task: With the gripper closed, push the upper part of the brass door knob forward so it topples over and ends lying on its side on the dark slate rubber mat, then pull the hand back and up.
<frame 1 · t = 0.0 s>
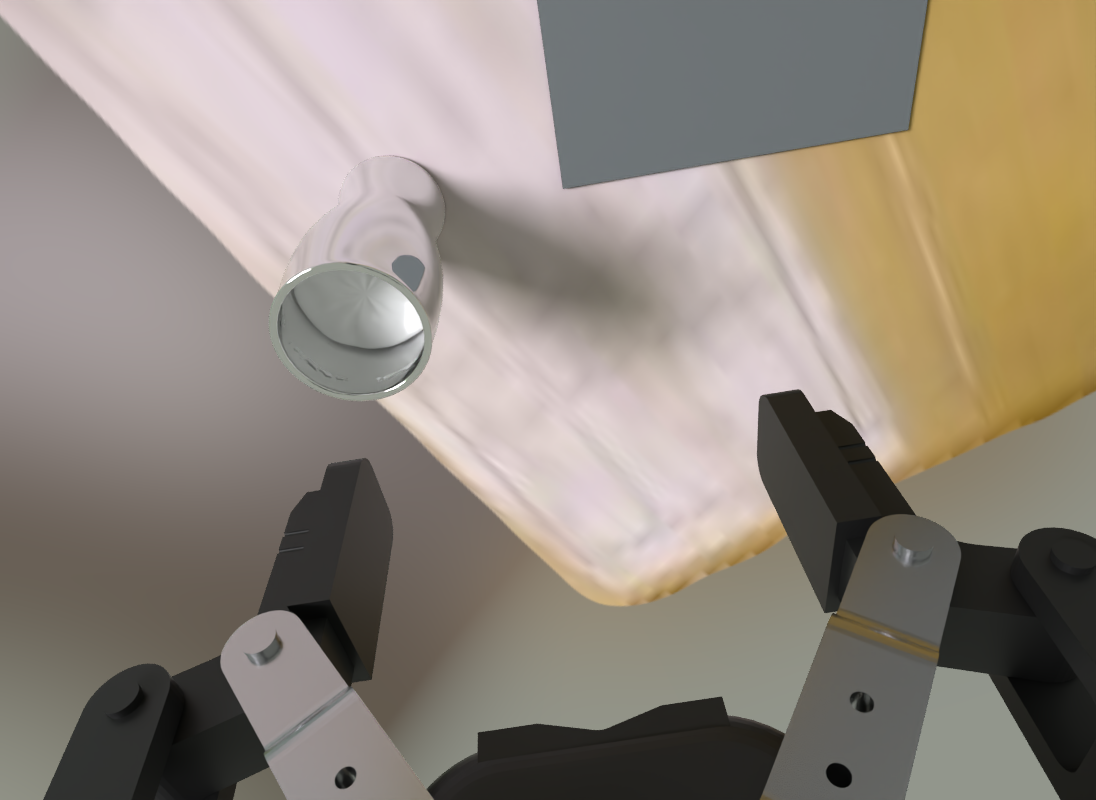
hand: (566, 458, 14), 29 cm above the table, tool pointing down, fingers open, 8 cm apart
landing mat: (733, 44, 37), on the table
beer glass: (393, 206, 41), on the table
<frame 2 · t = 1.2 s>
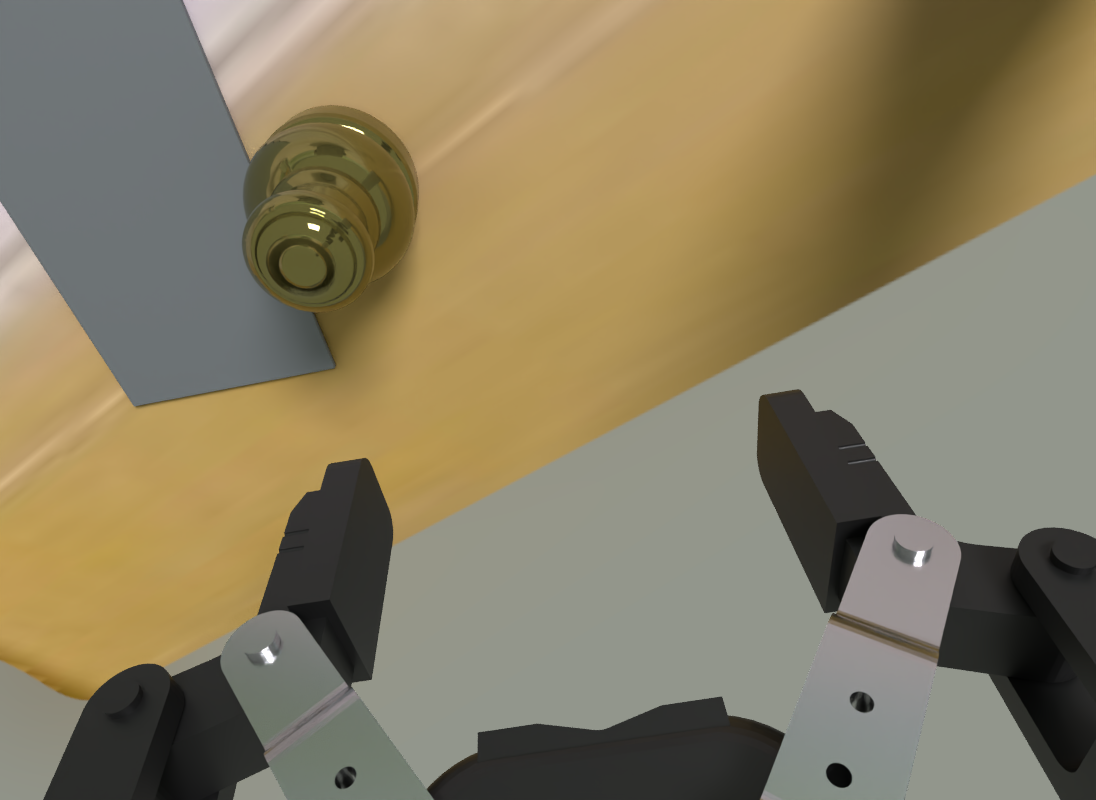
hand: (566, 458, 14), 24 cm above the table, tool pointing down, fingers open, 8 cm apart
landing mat: (148, 221, 35), on the table
brass door knob: (345, 181, 34), on the table
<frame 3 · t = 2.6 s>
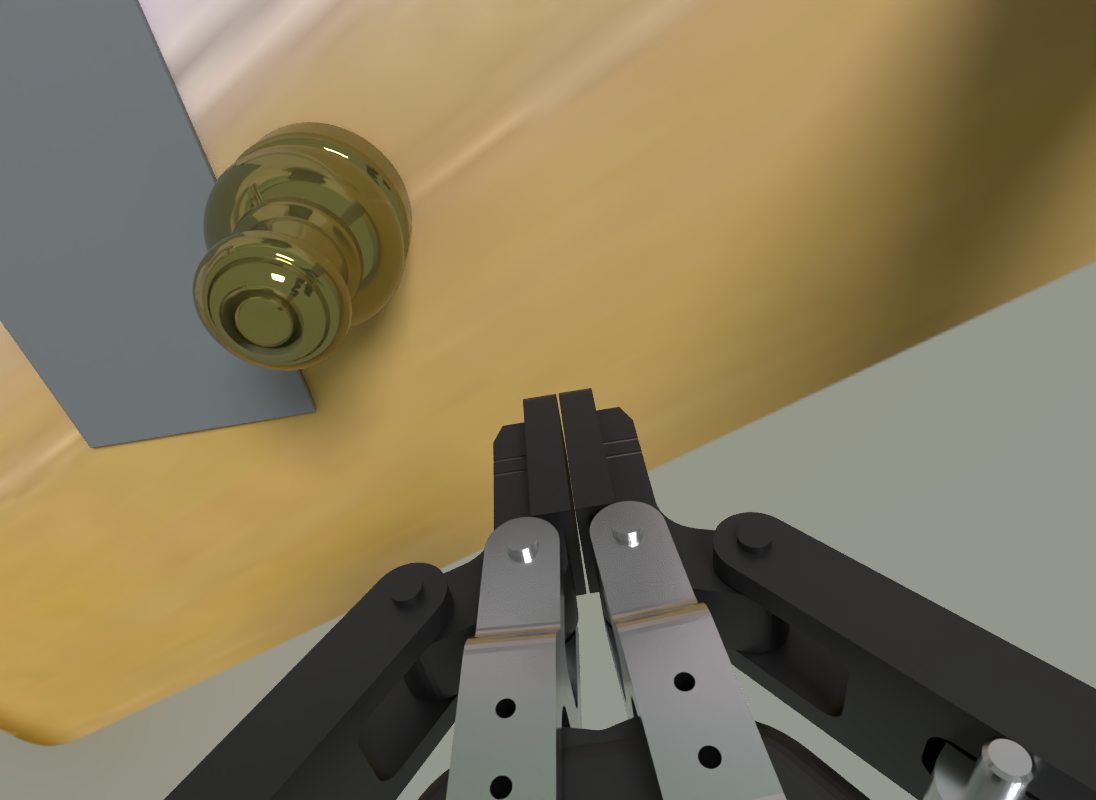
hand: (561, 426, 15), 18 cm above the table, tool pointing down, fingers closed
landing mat: (103, 248, 30), on the table
brass door knob: (327, 207, 30), on the table
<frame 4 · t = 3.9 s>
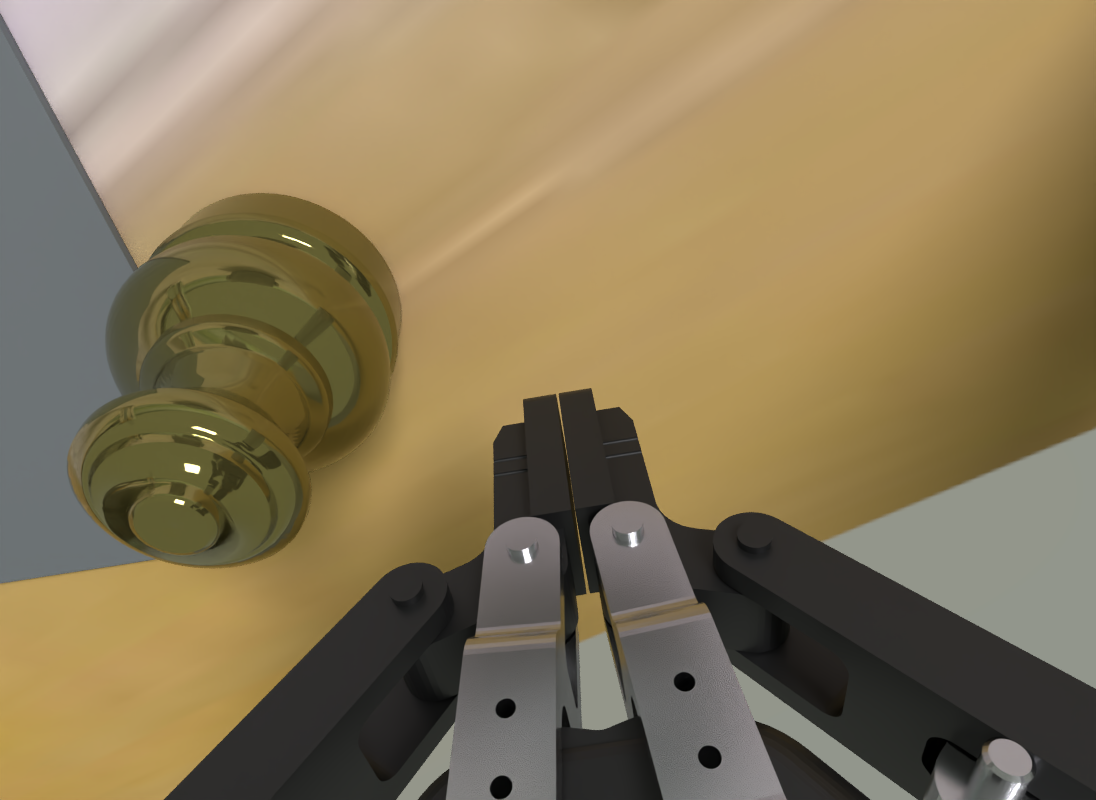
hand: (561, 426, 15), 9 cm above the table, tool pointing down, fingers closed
brass door knob: (289, 298, 23), on the table
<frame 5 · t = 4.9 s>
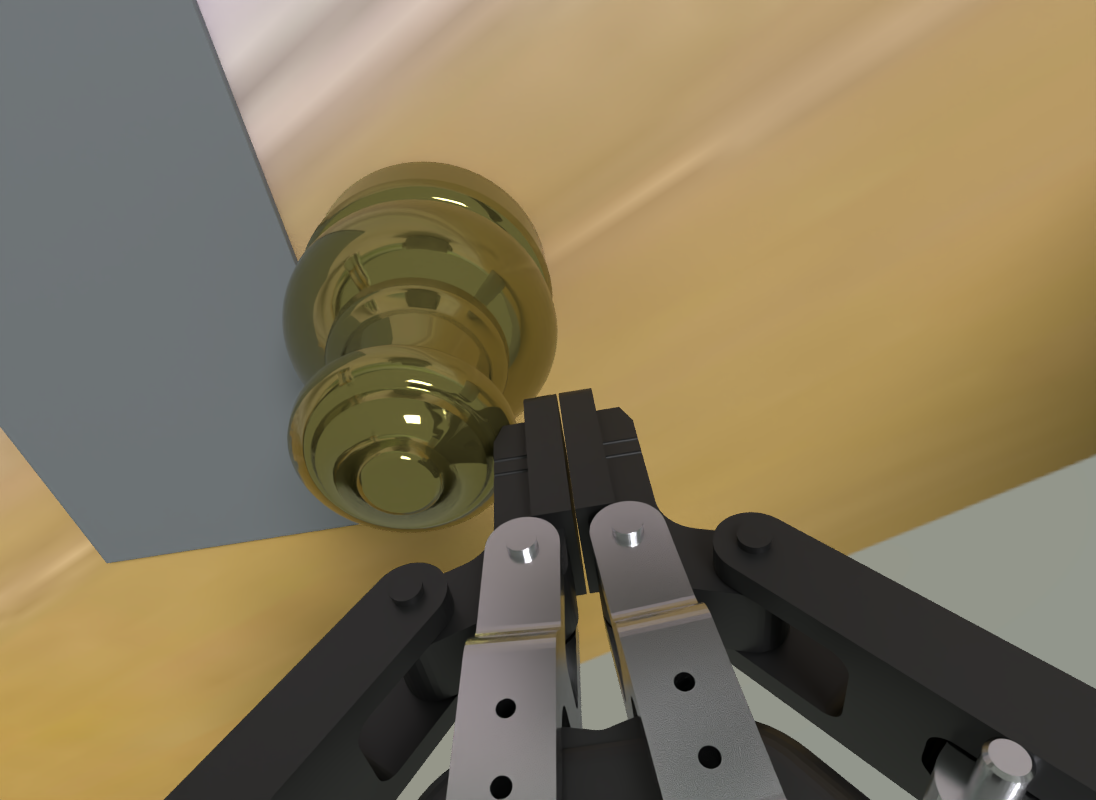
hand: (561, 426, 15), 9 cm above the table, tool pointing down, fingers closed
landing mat: (130, 324, 23), on the table
brass door knob: (433, 271, 22), on the table, touching gripper
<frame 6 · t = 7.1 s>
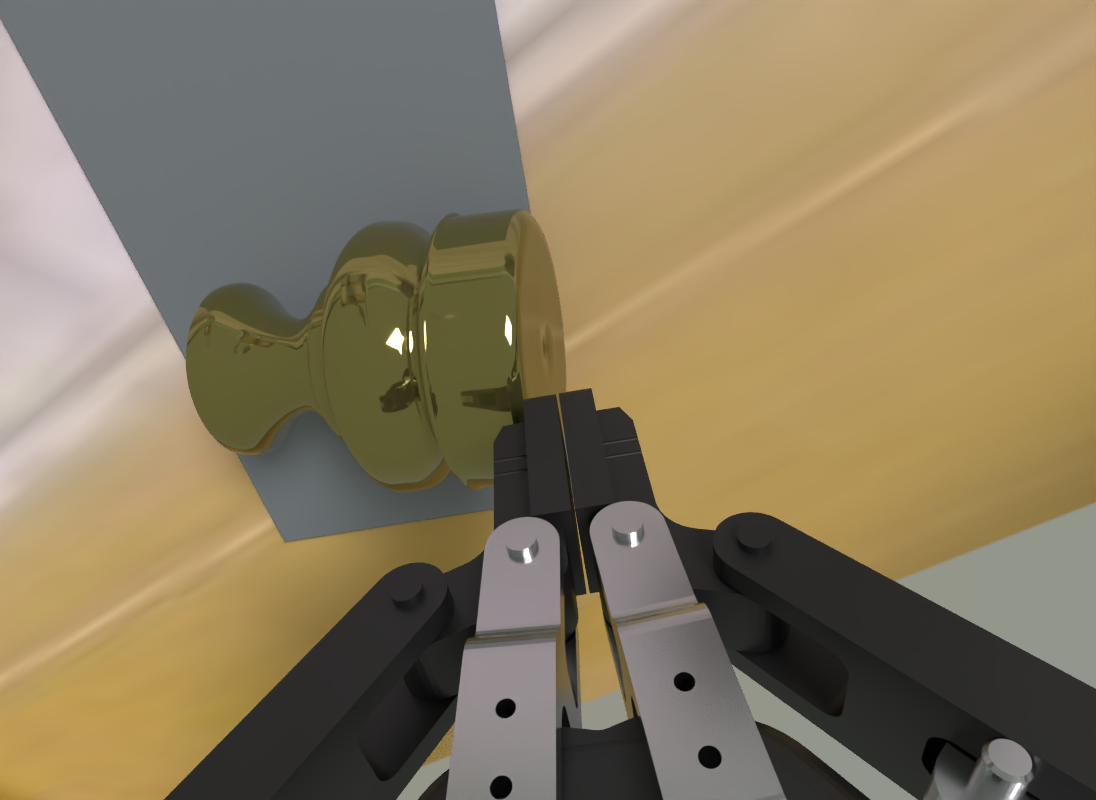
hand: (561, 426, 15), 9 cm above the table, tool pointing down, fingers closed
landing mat: (354, 294, 22), on the table
brass door knob: (554, 347, 18), point 5 cm above the table, touching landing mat
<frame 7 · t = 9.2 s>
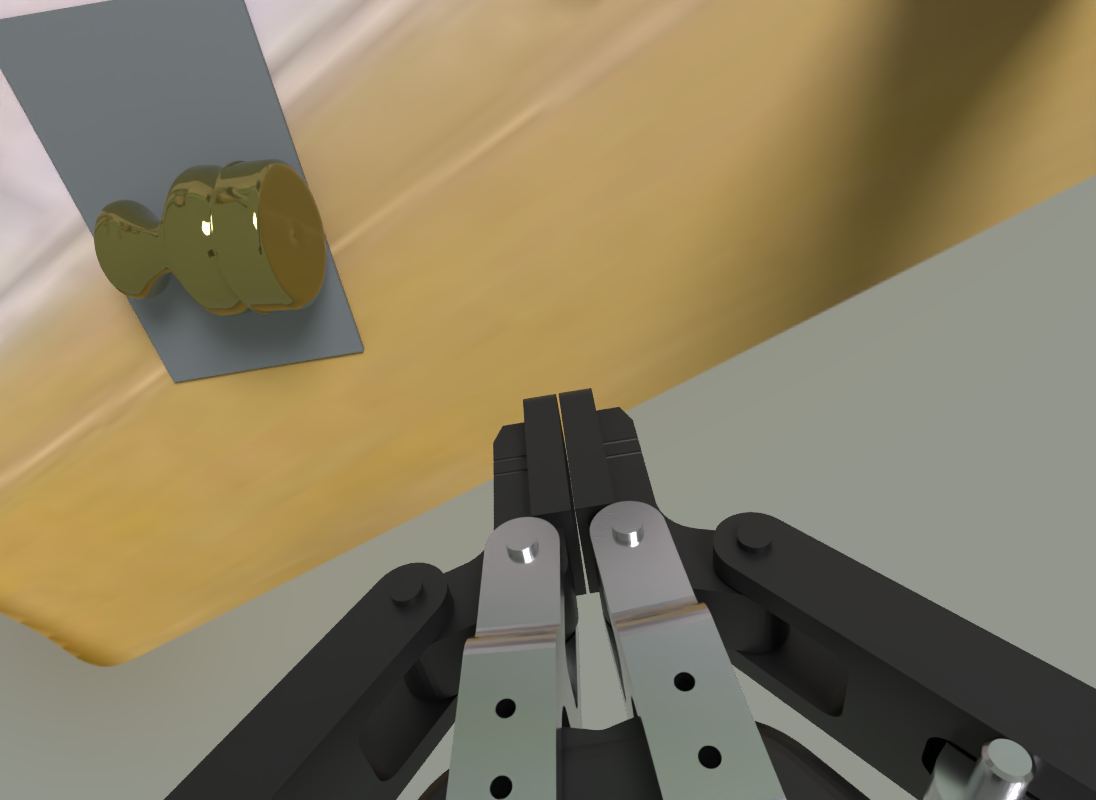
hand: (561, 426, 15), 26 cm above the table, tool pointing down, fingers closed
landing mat: (201, 210, 38), on the table
brass door knob: (299, 235, 34), point 5 cm above the table, touching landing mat
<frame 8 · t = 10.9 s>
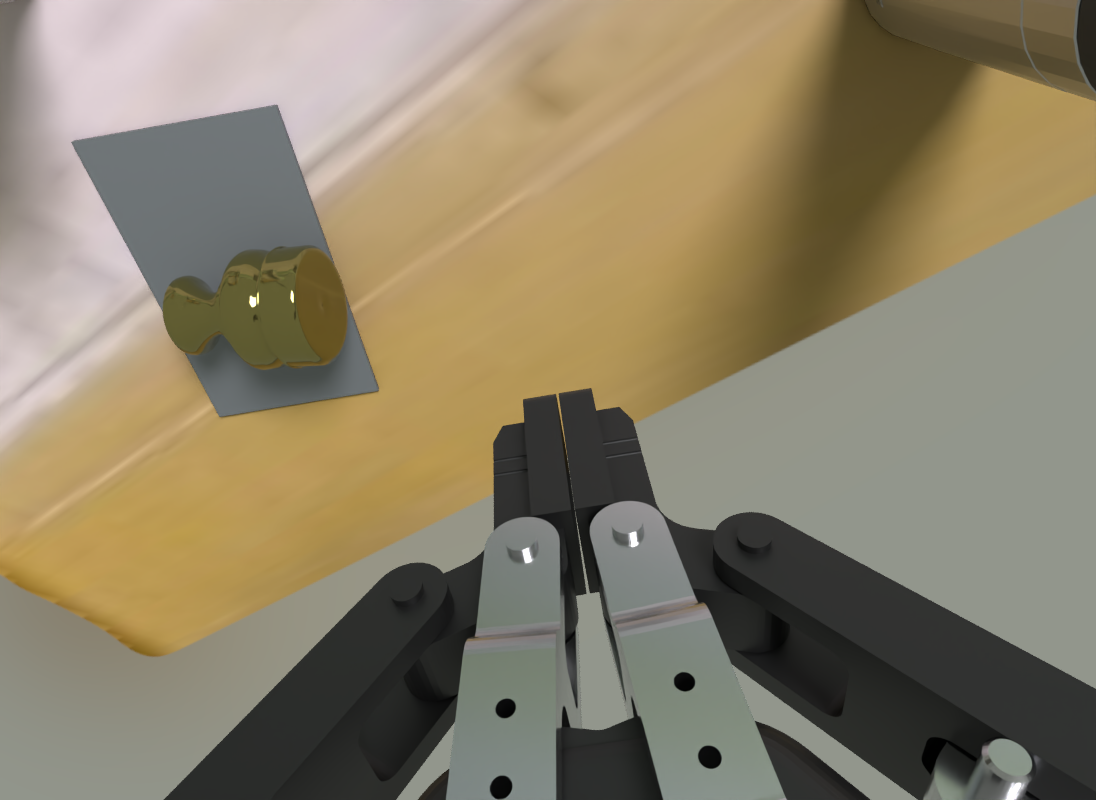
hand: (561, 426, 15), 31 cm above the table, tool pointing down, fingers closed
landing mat: (245, 279, 46), on the table
brass door knob: (326, 305, 42), point 5 cm above the table, touching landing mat
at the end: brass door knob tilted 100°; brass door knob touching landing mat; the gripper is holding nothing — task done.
